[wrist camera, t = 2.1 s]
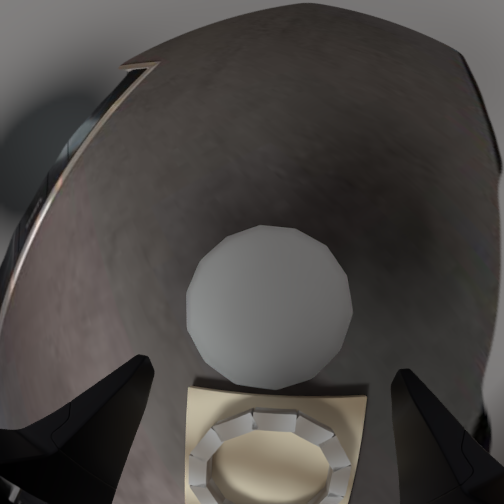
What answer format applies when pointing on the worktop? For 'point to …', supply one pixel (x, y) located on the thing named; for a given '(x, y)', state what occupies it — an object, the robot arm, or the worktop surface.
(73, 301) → the worktop surface
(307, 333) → the salt shaker
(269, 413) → the ring stand
